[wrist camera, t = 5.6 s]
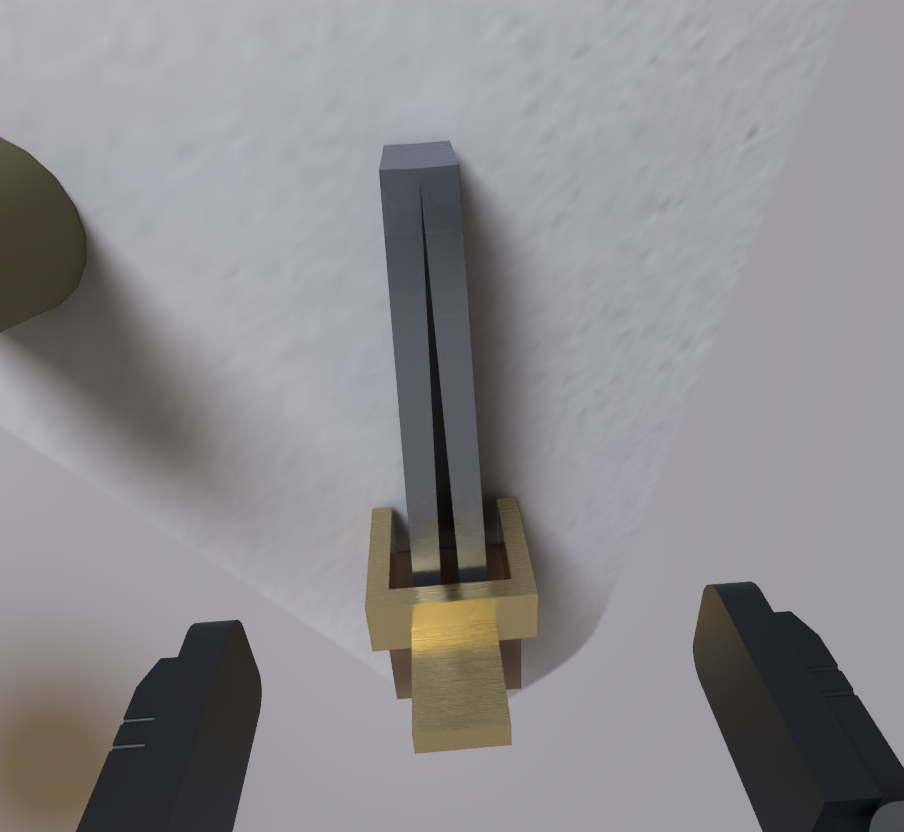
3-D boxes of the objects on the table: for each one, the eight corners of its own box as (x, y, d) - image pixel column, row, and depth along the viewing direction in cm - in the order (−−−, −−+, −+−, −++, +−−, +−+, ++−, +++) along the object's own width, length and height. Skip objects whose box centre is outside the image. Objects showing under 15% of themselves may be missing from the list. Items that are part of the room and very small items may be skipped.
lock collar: (516, 537, 28) (559, 740, 20) (378, 548, 28) (366, 757, 20) (515, 497, 27) (561, 695, 19) (372, 509, 27) (357, 713, 19)
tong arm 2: (438, 543, 28) (442, 615, 24) (415, 544, 28) (416, 617, 24) (416, 143, 20) (419, 168, 16) (384, 145, 20) (379, 169, 16)
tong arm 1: (479, 539, 28) (489, 611, 24) (456, 541, 28) (463, 613, 24) (449, 140, 20) (458, 164, 16) (416, 143, 20) (418, 168, 16)
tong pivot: (505, 595, 30) (521, 688, 26) (398, 604, 30) (397, 699, 26) (504, 544, 29) (521, 634, 25) (391, 553, 29) (388, 645, 24)
